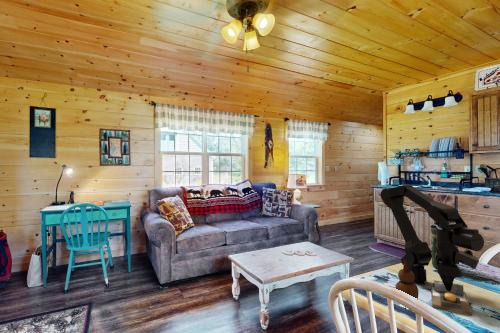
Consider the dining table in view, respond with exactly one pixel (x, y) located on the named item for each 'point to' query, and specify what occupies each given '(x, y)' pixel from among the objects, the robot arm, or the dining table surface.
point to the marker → (440, 287)
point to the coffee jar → (434, 246)
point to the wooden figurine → (407, 281)
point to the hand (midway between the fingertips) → (447, 287)
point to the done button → (450, 297)
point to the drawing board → (442, 303)
